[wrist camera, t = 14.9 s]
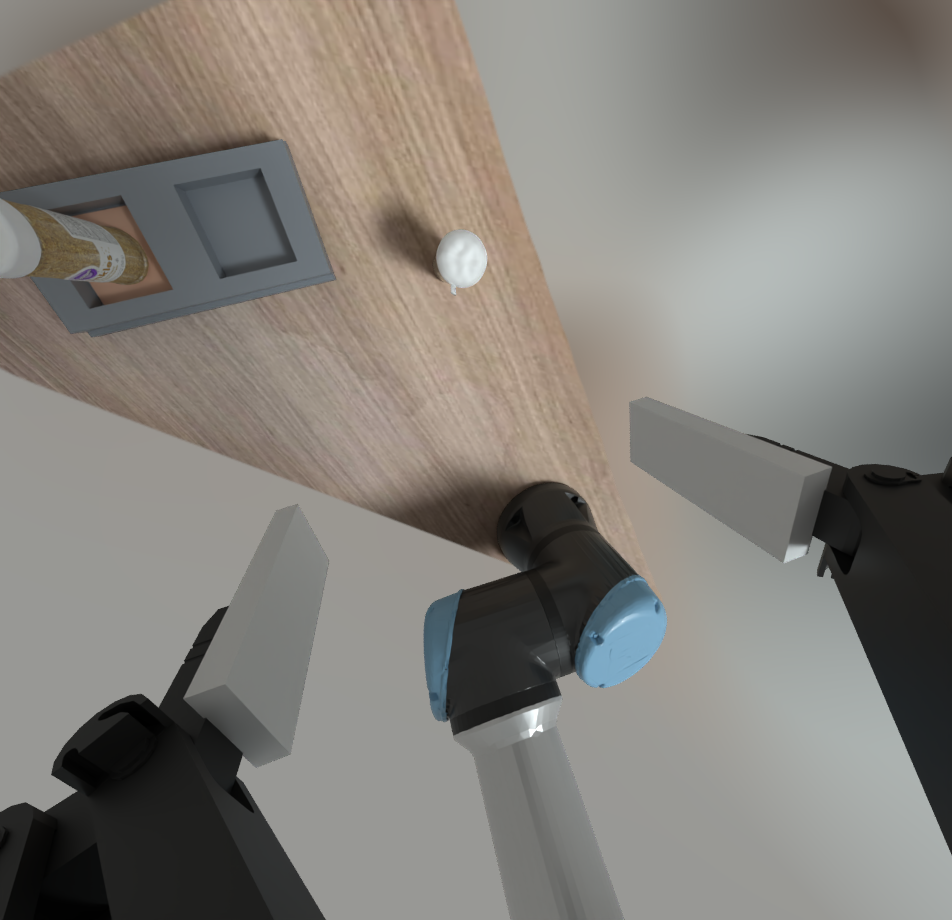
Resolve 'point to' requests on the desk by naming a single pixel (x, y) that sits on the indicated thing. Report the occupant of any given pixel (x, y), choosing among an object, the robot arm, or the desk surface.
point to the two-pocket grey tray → (189, 236)
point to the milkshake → (460, 259)
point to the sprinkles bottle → (66, 247)
